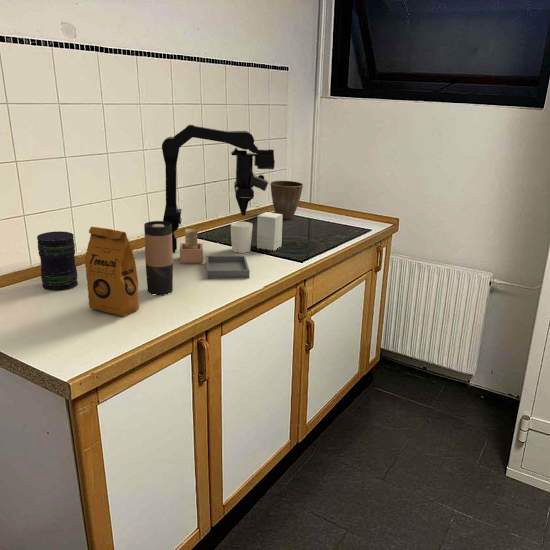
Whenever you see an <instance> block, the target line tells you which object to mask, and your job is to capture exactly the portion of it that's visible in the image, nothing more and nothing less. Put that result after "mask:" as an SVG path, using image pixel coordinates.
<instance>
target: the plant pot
mask: <svg viewBox="0 0 550 550" xmlns="http://www.w3.org/2000/svg"><path fill="white" fill-rule="evenodd" d="M269 185H270V194H271V199H272V204H273V208H274V213H276V214H283V218H282V220H293V218H294V216H295V214H296V211H297V209H298V206H299V203H300V200H301V196H302V192H303V187H304V184H303V183H302V182H298V181H292V180H274V181H270V184H269Z"/></svg>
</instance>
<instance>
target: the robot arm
mask: <svg viewBox="0 0 550 550" xmlns="http://www.w3.org/2000/svg"><path fill="white" fill-rule="evenodd" d="M192 138H194V139H195V138H196V139H201V140H207V141H214V142H219V143H224V144H228V145H230V146H233V147H235V148H234V149H233V150H232V151H231V152H230V154H231V156H236V159H235V162H236V163H235V164H236V165H235V166H236V167H235V181H234V183H233V184H234V185H233V186H234V187H233V188H234V192H235V195H234V196H235V200H236V201H237V205H238V208H239V211H240V214H241V216H243V217H244V216H246V213H247V209H248V205H249V202H251V200H253V199H254V197H255V191H254V187H255V188H257V189H259V190H261V191H264V192H265V191H266V190H267V187H268V185H269V181H268V180H266V179H265V176H264V175H263V174H259V175H258V176H257V175H254V171H253V165H254V167H255V166H256V168H257V170H274V169H275V163H276V162H275V161H276V160H275V154H274V153H275V150H274V149H270V148H269V149H259V148H258V146H256V145H255V139H254V136H253V135H252V133H251V132H249V131H246V130H233V131H232V130H231V131H230V130H229V131H228V130H221V129H215V128H210V127H203V126H197V125H194V124H188V125H187V126H186V127H185V128H184V129H182V130H181V131H179V132H178V133H177V134H175V135H174V136H168V137H166V138H165V139H164V140H163V142H162V144H161V150H162V156H163V161H164V167H165V207H164V208H165V209H164V213H163V218H162V221H166V222H169V223H171V225H172V251H173V254H175V253H176V251H177V249H178V247H177V246H178V241H177V240H178V237H177V236H176V233H175V232H176V231H177V230H178V229H179V228H180V225H182V221H183V220H182V217H181V214H182V210H183V209H182V208H178V205H177V203H178V202H177V200H178V199H177V196H178V195H177V189H178V188H177V185H178V184H177V183H178V182H177V181H178V180H177V178H178V177H177V175H178V174H177V165H178V159H179V153H180V148H181V147H182V146H183V145H185V144H186V143H187V142H188V141H190V140H191V139H192ZM238 148H239V149H238ZM240 149H241V150H240ZM247 150H248V151H250V153H248V151H247Z"/></svg>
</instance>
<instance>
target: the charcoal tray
mask: <svg viewBox="0 0 550 550" xmlns="http://www.w3.org/2000/svg"><path fill="white" fill-rule="evenodd" d="M205 260H206V261H205V264H206V266H205V267H206V278H207V279H248V278H249V279H250V272H251V271H250V267H249V264H248V261H247V258H246V255H206V256H205Z"/></svg>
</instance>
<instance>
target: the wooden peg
mask: <svg viewBox="0 0 550 550" xmlns="http://www.w3.org/2000/svg"><path fill="white" fill-rule="evenodd" d="M184 235H185V236H184V239H185V240H184V243H185V249H197V243H198V229H197V228H185V230H184Z"/></svg>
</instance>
